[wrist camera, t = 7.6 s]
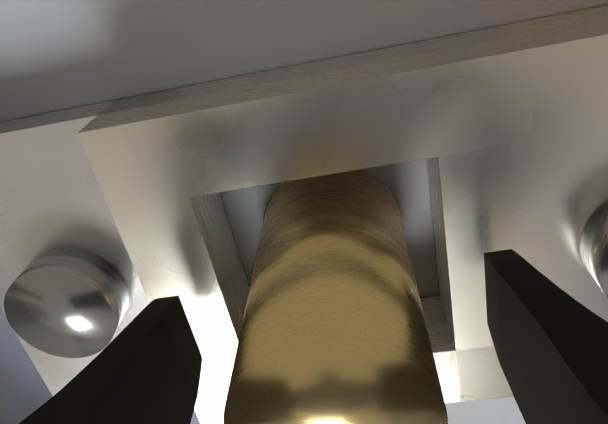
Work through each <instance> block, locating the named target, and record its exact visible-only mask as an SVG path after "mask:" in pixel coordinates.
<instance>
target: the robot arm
mask: <svg viewBox="0 0 608 424" xmlns="http://www.w3.org/2000/svg"><path fill="white" fill-rule="evenodd" d="M484 268H485V288H486V308H487V324H488V327H489V331H490V334H491V337H492V341H493V344H494V348H495V351H496V354H497V357H498V360H499V363H500V366H501V368H502V370H503V373H504V375H505V377H506V379H507V382H508V384H509V386H510V389H511V391H512V393H513V395H514V398H515V400H516V402H517V404H518V407H519V409H520V411H521V413H522V416H523V418H524V420H525V422H526V424H608V322H607V321H605V320H604V319H602V318H601V317H599V316H598V315H596V314H595V313H593V312H592V311H591V310H589V309H588V308H586V307H585V306H583V305H582V304H581V303H579V302H578V301H577V300H575V299H574V298H573V297H571V296H570V295H569V294H567V293H566V292H565V291H563V290H562V289H561V288H559V287H558V286H557V285H556V284H554V283H553V282H552V281H551V280H549V279H548V278H547V277H546V276H544V275H543V274H542V273H541V272H539V271H538V270H537V269H536V268H535V267H533V266H532V265H531V264H530V263H529V262H527V261H526V260H525V259H524V258H523V257H521V256H520V255H519V254H518V253H517V252H515V251H514V250H513V249H508V250H501V251H494V252H487V253H484ZM202 360H203V357H202V355H201V352H200V350H199V347H198V344H197V342H196V339H195V337H194V334H193V332H192V329H191V326H190V324H189V321H188V319H187V316H186V314H185V311H184V308H183V306H182V303H181V301H180V298H179V296H171V297H164V298H156V299H154V300H153V301H152V302H151V303H149V304H148V305H147V306H146V307H145V308H144V309H143V310H142V311H141V312H140V313H139V314H138V315H137V316H136V317H135V318H134V319H133V320H132V321H131V322H130V323H129V324H128V325H127V326H126V327H125V328H124V329H123V330H122V331H121V332H120V333H119V334H118V335H117V336H116V337H115V338H114V339H113V340H112V341H111V342H110V343H109V345H108V346H107V347H106V348H105V349H104V350H103V351H102V352H101V353H100V354H99V355H98V356H97V357H96V358H94V359H93V360H92V361H91V362H90V363H89V364H88V365H87V366H86V367H85V368H84V369H83V370H82V371H81V372H79V373H78V374H77V375H76V376H75V377H74V378H73V379H72V380H71V381H70V382H69V383H68V384H67V385H65V386H64V387H63V388H62V389H61V390H60V391H59V392H58V393H56V394H55V395H54V396H53V397H52V398H51V399H49V400H48V401H47V402H46V403H45V404H43V405H42V406H41V407H40V408H38V409H37V410H36V411H35V412H33V413H32V414H31V415H30V416H28V417H27V418H26V419H24V420H23V421H22V422H21V423H19V424H190V422H191V418H192V415H193V411H194V408H195V404H196V400H197V396H198V389H199V383H200V376H201V368H202Z"/></svg>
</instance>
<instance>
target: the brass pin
mask: <svg viewBox="0 0 608 424" xmlns="http://www.w3.org/2000/svg"><path fill="white" fill-rule="evenodd" d="M223 421H224V424H448V417H447V411H446V406H445V402H444V398H443V393H442V389H441V385H440V381H439V376H438V372H437V368H436V364H435V359H434V355H433V351H432V347H431V342H430V338H429V334H428V329H427V325H426V321H425V317H424V312H423V308H422V304H421V300H420V295H419V291H418V287H417V283H416V278H415V274H414V270H413V266H412V261H411V257H410V253H409V249H408V244H407V240H406V236H405V231H404V227H403V223H402V219H401V214H400V211H399V208H398V205H397V202H396V201H395V199H394V197H393V195H392V194H391V193H390V191H389V190H388V189H387V188H386V187H385V186H384V185H383V184H382V183H381V182H380V181H379V180H377V179H376V178H375V177H373V176H371V175H369V174H368V173H366V172H363V171H361V170H353V171H347V172H341V173H335V174H329V175H323V176H316V177H310V178H304V179H298V180H292V181H286V182H284V183H283V184H282V185H281V186H280V187H279V188H278V189H277V191H276V192H275V193H274V195H273V196H272V198H271V199H270V202H269V204H268V206H267V209H266V212H265V217H264V221H263V226H262V231H261V236H260V241H259V245H258V250H257V255H256V260H255V264H254V269H253V274H252V279H251V283H250V288H249V293H248V298H247V302H246V307H245V312H244V317H243V322H242V326H241V331H240V336H239V341H238V345H237V350H236V355H235V360H234V364H233V369H232V374H231V379H230V383H229V388H228V393H227V398H226V403H225V407H224V415H223Z"/></svg>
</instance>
